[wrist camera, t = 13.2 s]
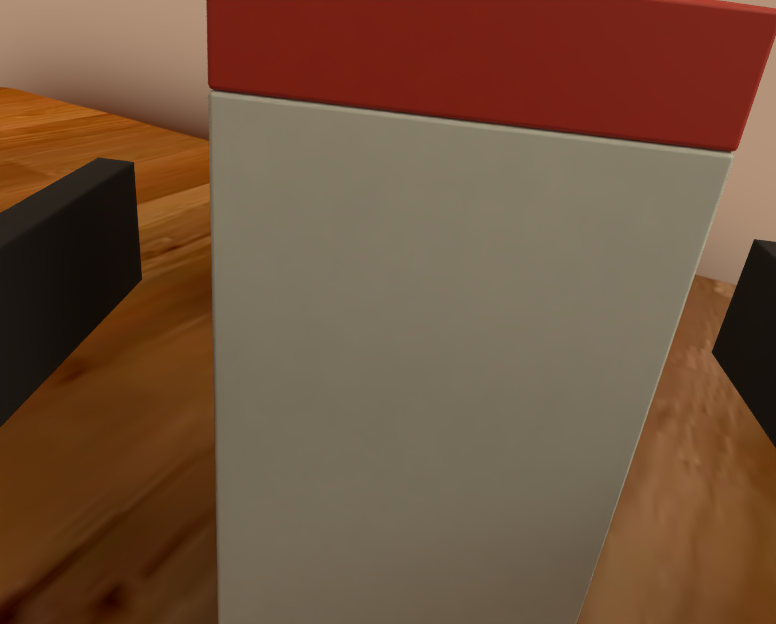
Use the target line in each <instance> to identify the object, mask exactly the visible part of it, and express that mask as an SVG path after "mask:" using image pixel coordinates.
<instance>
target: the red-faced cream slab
mask: <svg viewBox="0 0 776 624" xmlns="http://www.w3.org/2000/svg"><path fill="white" fill-rule="evenodd" d="M775 36H776V9H775V8H768V7H761V6H754V5H747V4H739V3H733V2H726V1H718V0H207V46H208V47H207V50H208V51H207V52H208V84H209V87H210V88H211V89H213V90H212V91H210V93H209V96H208V102H209V157H210V211H211V265H212V319H213V373H214V428H215V482H216V536H217V590H218V624H577V622H578V619H579V616H580V613H581V610H582V607H583V604H584V601H585V598H586V595H587V592H588V589H589V586H590V583H591V580H592V577H593V574H594V571H595V569H596V566H597V563H598V560H599V557H600V554H601V551H602V548H603V545H604V542H605V539H606V536H607V533H608V530H609V527H610V524H611V521H612V518H613V515H614V512H615V509H616V506H617V503H618V500H619V498H620V495H621V492H622V489H623V486H624V483H625V480H626V477H627V474H628V471H629V468H630V465H631V462H632V459H633V456H634V453H635V450H636V447H637V444H638V441H639V438H640V435H641V432H642V429H643V426H644V424H645V421H646V418H647V415H648V412H649V409H650V406H651V403H652V400H653V397H654V394H655V391H656V388H657V385H658V382H659V379H660V376H661V373H662V370H663V367H664V364H665V361H666V358H667V355H668V352H669V350H670V347H671V344H672V341H673V338H674V335H675V332H676V329H677V326H678V323H679V320H680V317H681V314H682V311H683V308H684V305H685V302H686V299H687V296H688V293H689V290H690V287H691V284H692V281H693V278H694V276H695V273H696V270H697V267H698V263H699V261H700V257H701V255H702V252H703V249H704V246H705V243H706V240H707V237H708V234H709V231H710V228H711V225H712V222H713V219H714V216H715V213H716V210H717V207H718V204H719V202H720V198H721V196H722V193H723V190H724V187H725V183H726V181H727V178H728V175H729V172H730V169H731V166H732V163H733V160H734V155H733V154H732V153H731V151H735V150H736V149H737V148H738V146H739V143H740V140H741V137H742V134H743V131H744V127H745V125H746V122H747V119H748V116H749V113H750V110H751V107H752V104H753V101H754V98H755V95H756V92H757V89H758V86H759V83H760V80H761V77H762V75H763V72H764V68H765V66H766V63H767V60H768V57H769V54H770V51H771V48H772V45H773V42H774V39H775Z"/></svg>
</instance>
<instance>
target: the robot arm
mask: <svg viewBox="0 0 776 624" xmlns="http://www.w3.org/2000/svg"><path fill="white" fill-rule="evenodd" d="M141 280H142V273H141V259H140V244H139V230H138V216H137V201H136V187H135V172H134V162H129V161H121V160H113V159H105V158H97V159H95V160H93V161H91V162H90V163H88V164H86V165H84V166H83V167H81V168H79V169H77V170H76V171H74V172H72V173H70V174H69V175H67V176H65V177H63V178H61V179H60V180H58V181H56V182H54V183H53V184H51V185H49V186H47V187H46V188H44V189H42V190H40V191H38V192H37V193H35V194H33V195H31V196H30V197H28V198H26V199H24V200H23V201H21V202H19V203H17V204H16V205H14V206H12V207H10V208H8V209H7V210H5V211H3V212H1V213H0V427H1V426H2V425H3V424H4V423H5V422H6V421H7V420H8V419H9V418H10V417H11V415H12V414H13V413H14V412H15V411H16V410H17V409H18V408H19V407H20V406H21V405H22V404H23V403H24V402H25V401H26V400H27V399H28V398H29V397H30V396H31V395H32V394H33V393H34V391H35V390H36V389H37V388H38V387H39V386H40V385H41V384H42V383H43V382H44V381H45V380H46V379H47V378H48V377H49V376H50V375H51V374H52V373H53V372H54V371H55V370H56V369H57V367H58V366H59V365H60V364H61V363H62V362H63V361H64V360H65V359H66V358H67V357H68V356H69V355H70V354H71V353H72V352H73V351H74V350H75V349H76V348H77V347H78V346H79V345H80V343H81V342H82V341H83V340H84V339H85V338H86V337H87V336H88V335H89V334H90V333H91V332H92V331H93V330H94V329H95V328H96V327H97V326H98V325H99V324H100V323H101V322H102V321H103V319H104V318H105V317H106V316H107V315H108V314H109V313H110V312H111V311H112V310H113V309H114V308H115V307H116V306H117V305H118V304H119V303H120V302H121V301H122V300H123V299H124V298H125V296H126V295H127V294H128V293H129V292H130V291H131V290H132V289H133V288H134V287H135V286H136V285H137V284H138V283H139V282H140V281H141ZM712 354H713V355H714V357H715V358H716V360H717V361H718V363H719V364H720V366H721V367H722V369H723V370H724V372H725V373H726V375H727V376H728V377H729V379H730V380H731V382H732V383H733V385H734V386H735V388H736V389H737V391H738V392H739V394H740V395H741V397H742V398H743V400H744V401H745V403H746V404H747V406H748V407H749V409H750V410H751V412H752V413H753V415H754V416H755V418H756V419H757V421H758V422H759V424H760V425H761V427H762V428H763V430H764V431H765V433H766V434H767V436H768V437H769V439H770V440H771V442H772V443H773V445H774V446H775V448H776V242H771V241H764V240H756V239H754V241H753V244H752V246H751V249H750V252H749V254H748V257H747V260H746V262H745V265H744V268H743V270H742V273H741V276H740V278H739V281H738V284H737V286H736V289H735V292H734V294H733V297H732V300H731V302H730V305H729V308H728V310H727V313H726V316H725V318H724V321H723V324H722V326H721V329H720V332H719V334H718V337H717V340H716V342H715V345H714V348H713V350H712Z"/></svg>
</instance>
